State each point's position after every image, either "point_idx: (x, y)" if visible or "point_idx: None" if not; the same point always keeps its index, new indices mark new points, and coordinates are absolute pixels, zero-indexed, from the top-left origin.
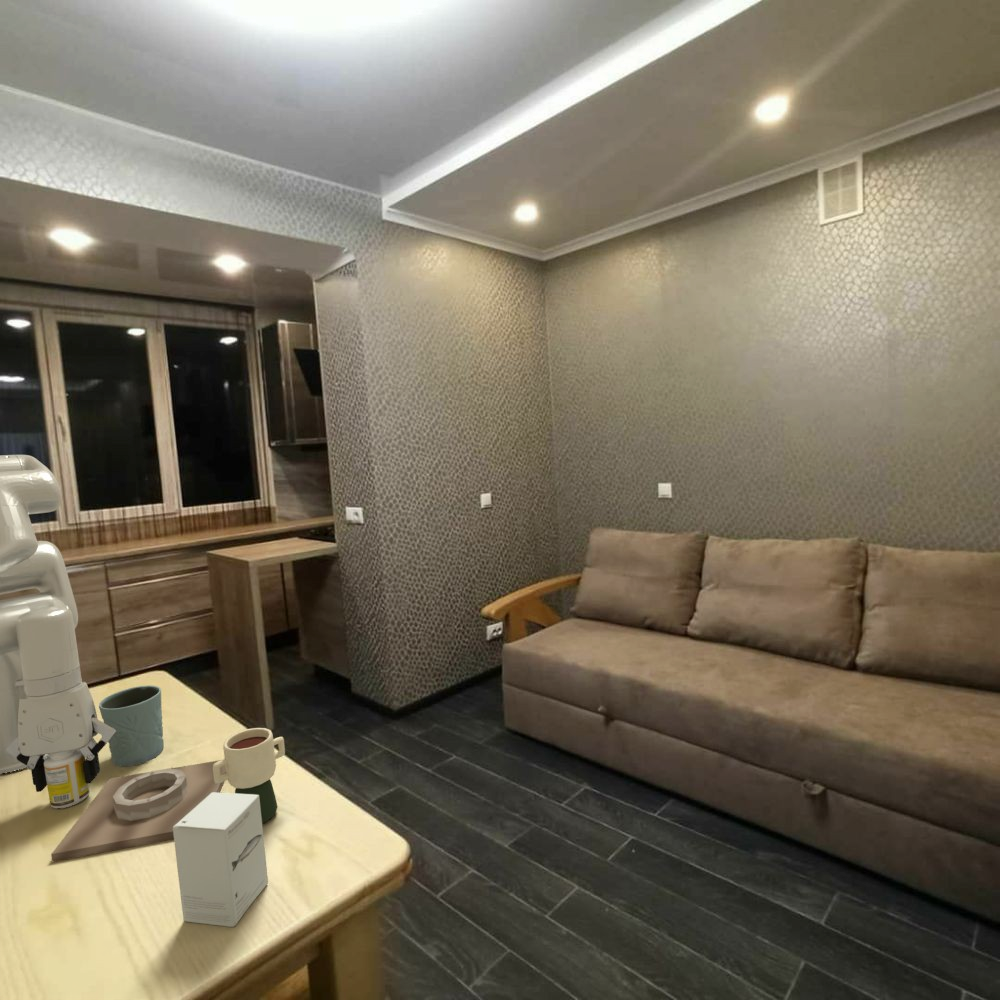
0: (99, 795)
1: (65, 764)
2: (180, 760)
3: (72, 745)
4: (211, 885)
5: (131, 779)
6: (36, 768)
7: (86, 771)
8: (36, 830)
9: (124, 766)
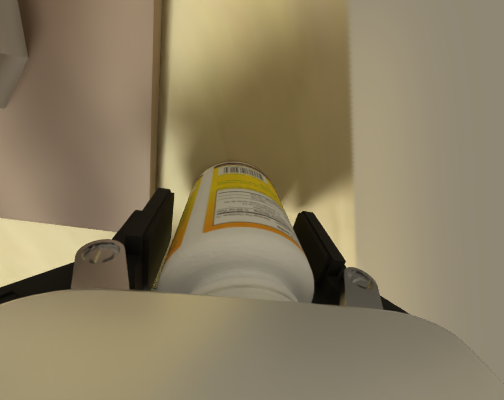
0: (140, 151)
1: (213, 232)
2: (5, 264)
3: (102, 325)
4: None
5: (74, 202)
6: (334, 269)
7: (150, 209)
8: (287, 76)
9: (152, 288)
